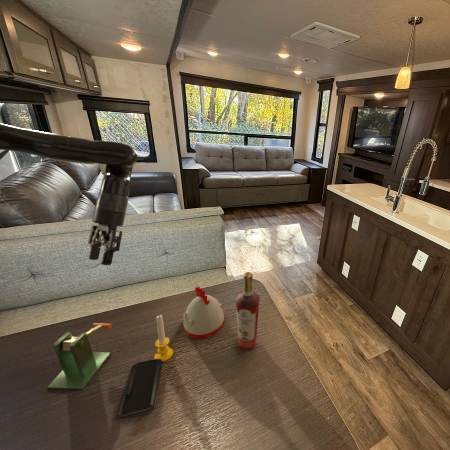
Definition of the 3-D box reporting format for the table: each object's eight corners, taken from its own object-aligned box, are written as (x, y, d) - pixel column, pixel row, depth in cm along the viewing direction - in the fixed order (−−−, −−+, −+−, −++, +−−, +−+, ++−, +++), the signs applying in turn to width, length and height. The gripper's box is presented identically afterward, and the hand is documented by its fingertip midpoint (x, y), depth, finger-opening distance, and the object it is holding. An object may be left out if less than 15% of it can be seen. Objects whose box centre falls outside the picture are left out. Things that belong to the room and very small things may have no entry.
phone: (162, 357, 75) (153, 408, 62) (162, 360, 76) (154, 411, 63) (132, 364, 72) (116, 418, 60) (132, 366, 73) (117, 421, 60)
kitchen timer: (211, 304, 99) (209, 273, 94) (231, 323, 91) (231, 290, 86) (176, 322, 89) (172, 289, 84) (196, 345, 81) (192, 310, 76)
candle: (150, 358, 76) (144, 316, 71) (165, 346, 80) (161, 306, 75) (162, 365, 74) (157, 323, 69) (177, 352, 78) (173, 312, 73)
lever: (95, 328, 78) (95, 320, 78) (111, 329, 78) (112, 321, 78) (56, 350, 65) (57, 341, 64) (76, 351, 65) (77, 342, 65)
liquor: (233, 351, 81) (231, 280, 70) (240, 333, 88) (239, 266, 77) (255, 353, 81) (257, 283, 70) (260, 335, 87) (262, 269, 76)
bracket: (80, 354, 75) (69, 322, 70) (111, 355, 76) (102, 323, 71) (47, 390, 65) (31, 356, 60) (83, 391, 66) (70, 357, 61)
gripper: (85, 205, 75) (74, 257, 74) (107, 208, 68) (95, 266, 67) (113, 209, 81) (103, 258, 80) (136, 213, 74) (125, 266, 73)
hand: (99, 262), depth 74 cm, fingers open, 8 cm apart
